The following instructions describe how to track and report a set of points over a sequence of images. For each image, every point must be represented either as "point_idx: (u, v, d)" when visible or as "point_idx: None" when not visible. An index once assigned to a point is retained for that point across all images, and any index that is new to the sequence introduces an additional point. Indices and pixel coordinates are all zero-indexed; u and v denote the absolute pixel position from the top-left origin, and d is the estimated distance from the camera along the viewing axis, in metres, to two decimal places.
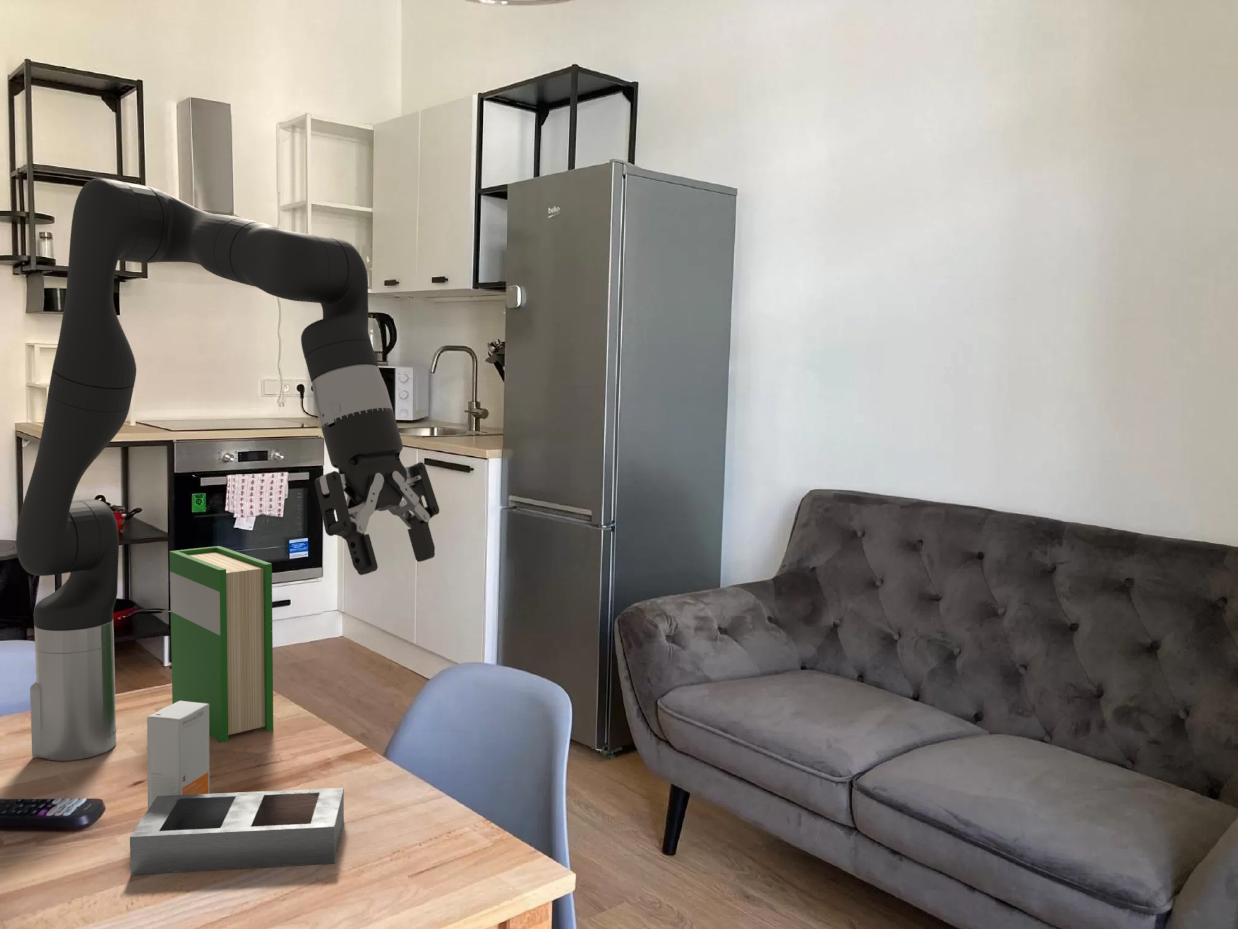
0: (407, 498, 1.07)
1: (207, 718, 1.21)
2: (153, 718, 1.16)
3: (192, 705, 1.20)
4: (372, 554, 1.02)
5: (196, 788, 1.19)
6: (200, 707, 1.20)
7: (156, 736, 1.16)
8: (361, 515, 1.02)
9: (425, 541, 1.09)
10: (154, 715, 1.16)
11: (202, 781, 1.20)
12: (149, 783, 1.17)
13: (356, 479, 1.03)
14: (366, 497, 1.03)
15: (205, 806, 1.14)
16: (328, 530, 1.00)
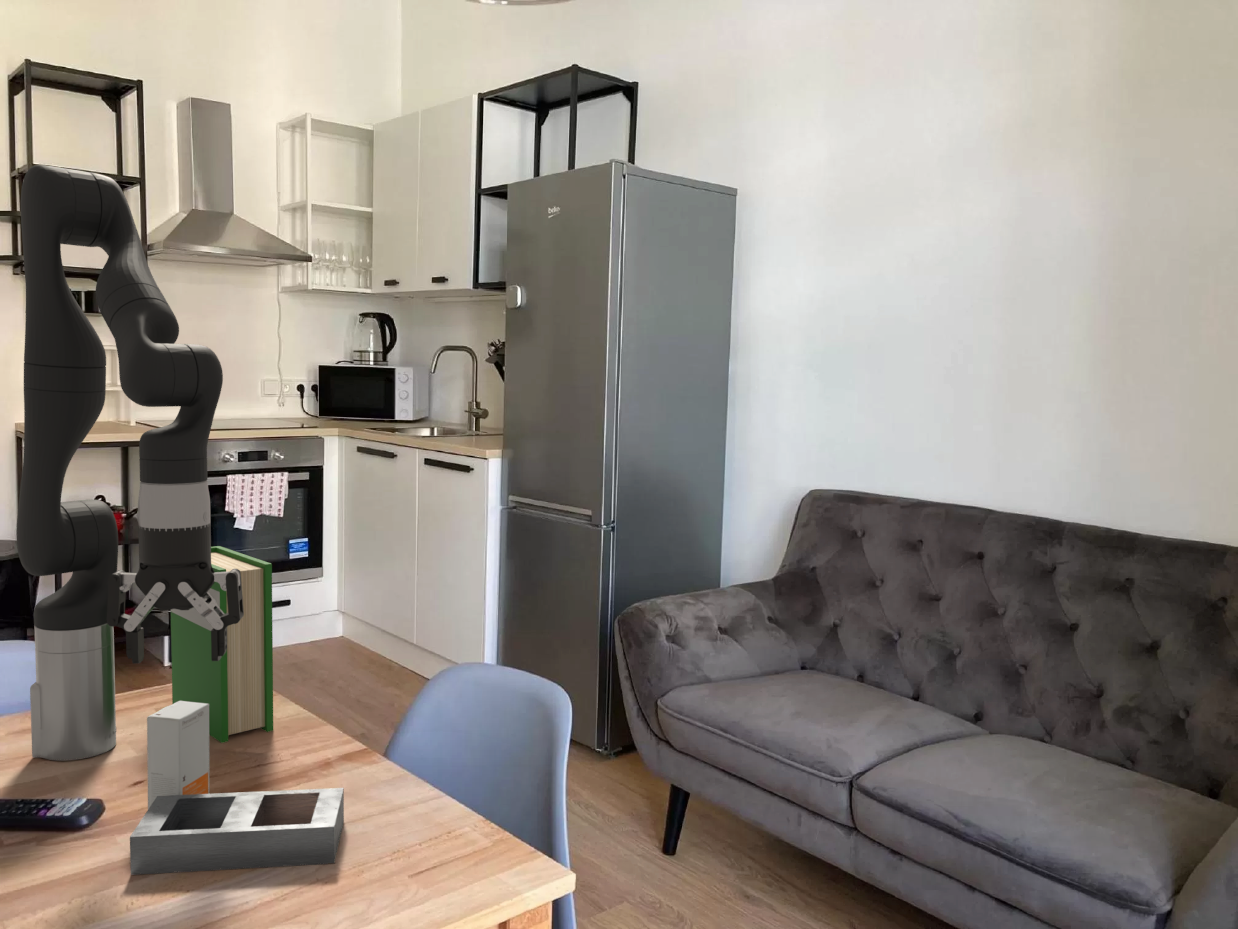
0: (194, 607, 1.16)
1: (207, 718, 1.21)
2: (153, 718, 1.16)
3: (192, 705, 1.20)
4: (135, 650, 1.16)
5: (196, 788, 1.19)
6: (200, 707, 1.20)
7: (156, 736, 1.16)
8: (133, 615, 1.16)
9: None
10: (154, 715, 1.16)
11: (202, 781, 1.20)
12: (149, 783, 1.17)
13: (140, 583, 1.15)
14: None
15: (205, 806, 1.14)
16: None
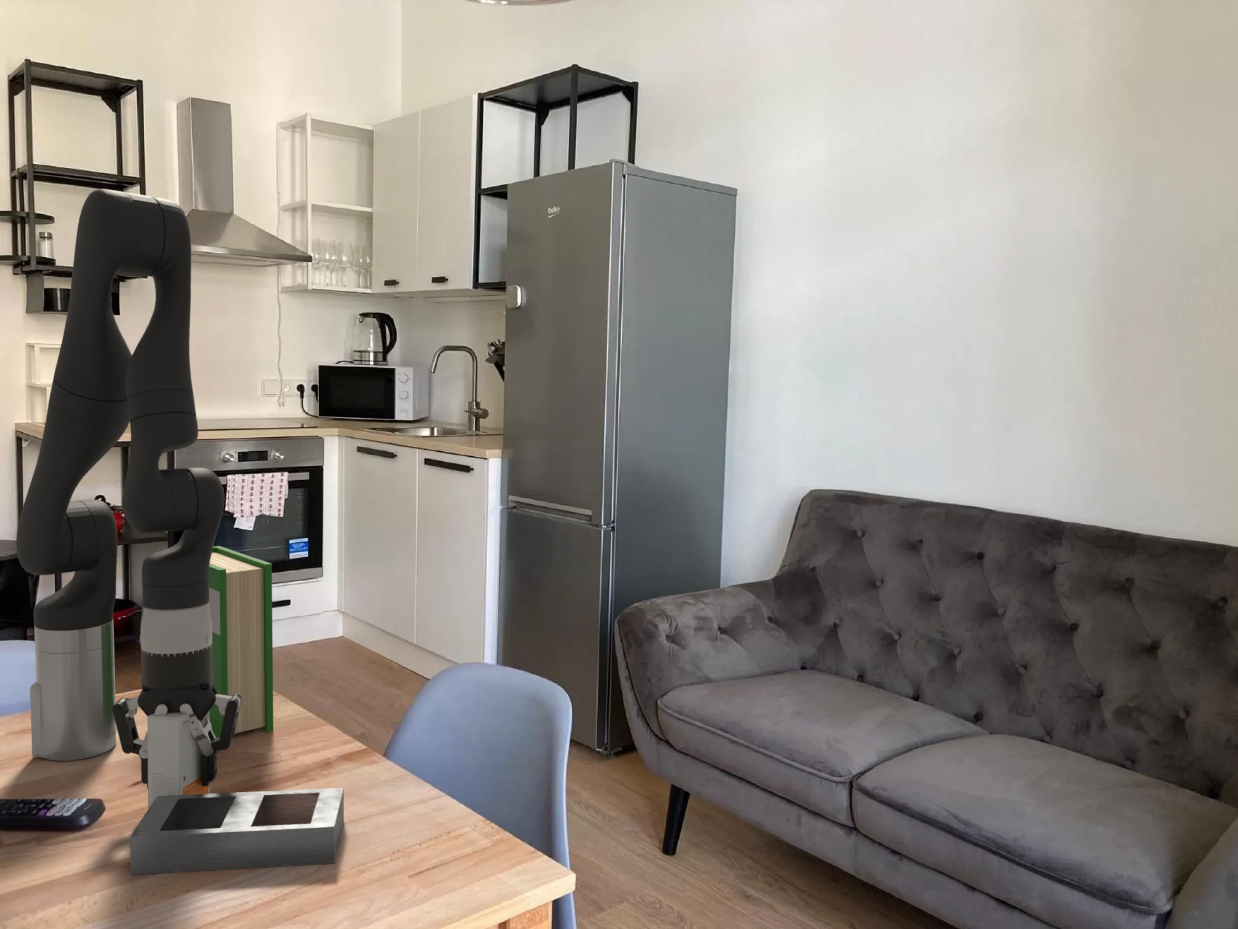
0: (190, 729, 1.17)
1: None
2: (154, 718, 1.16)
3: None
4: None
5: (197, 787, 1.19)
6: None
7: (156, 736, 1.16)
8: (145, 742, 1.17)
9: None
10: None
11: None
12: (149, 783, 1.17)
13: (143, 705, 1.17)
14: None
15: (205, 806, 1.14)
16: None
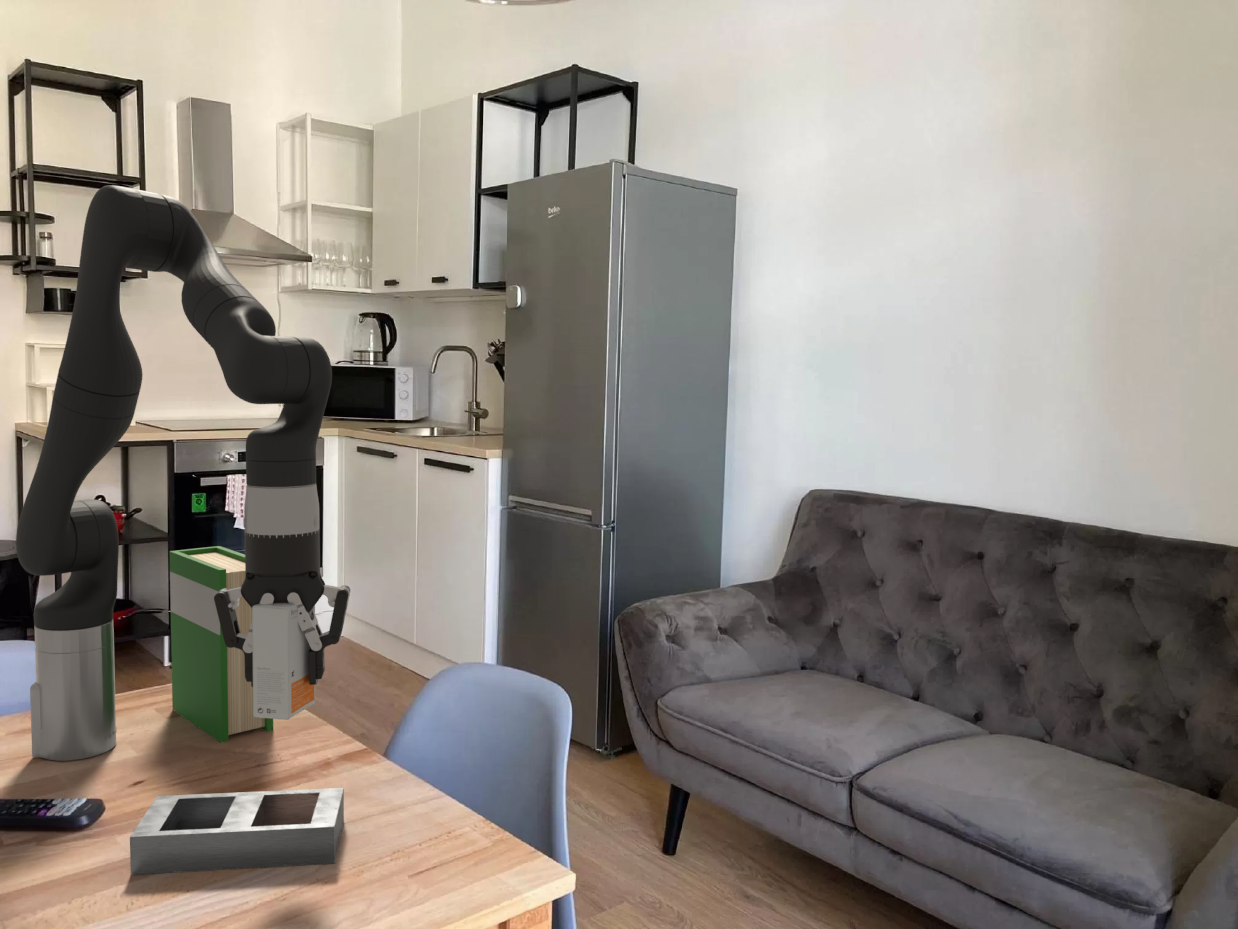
0: (298, 621, 1.08)
1: None
2: (259, 608, 1.06)
3: None
4: None
5: (304, 686, 1.10)
6: None
7: (262, 627, 1.06)
8: (249, 635, 1.08)
9: None
10: None
11: None
12: (255, 679, 1.07)
13: (247, 595, 1.07)
14: None
15: (205, 806, 1.14)
16: None
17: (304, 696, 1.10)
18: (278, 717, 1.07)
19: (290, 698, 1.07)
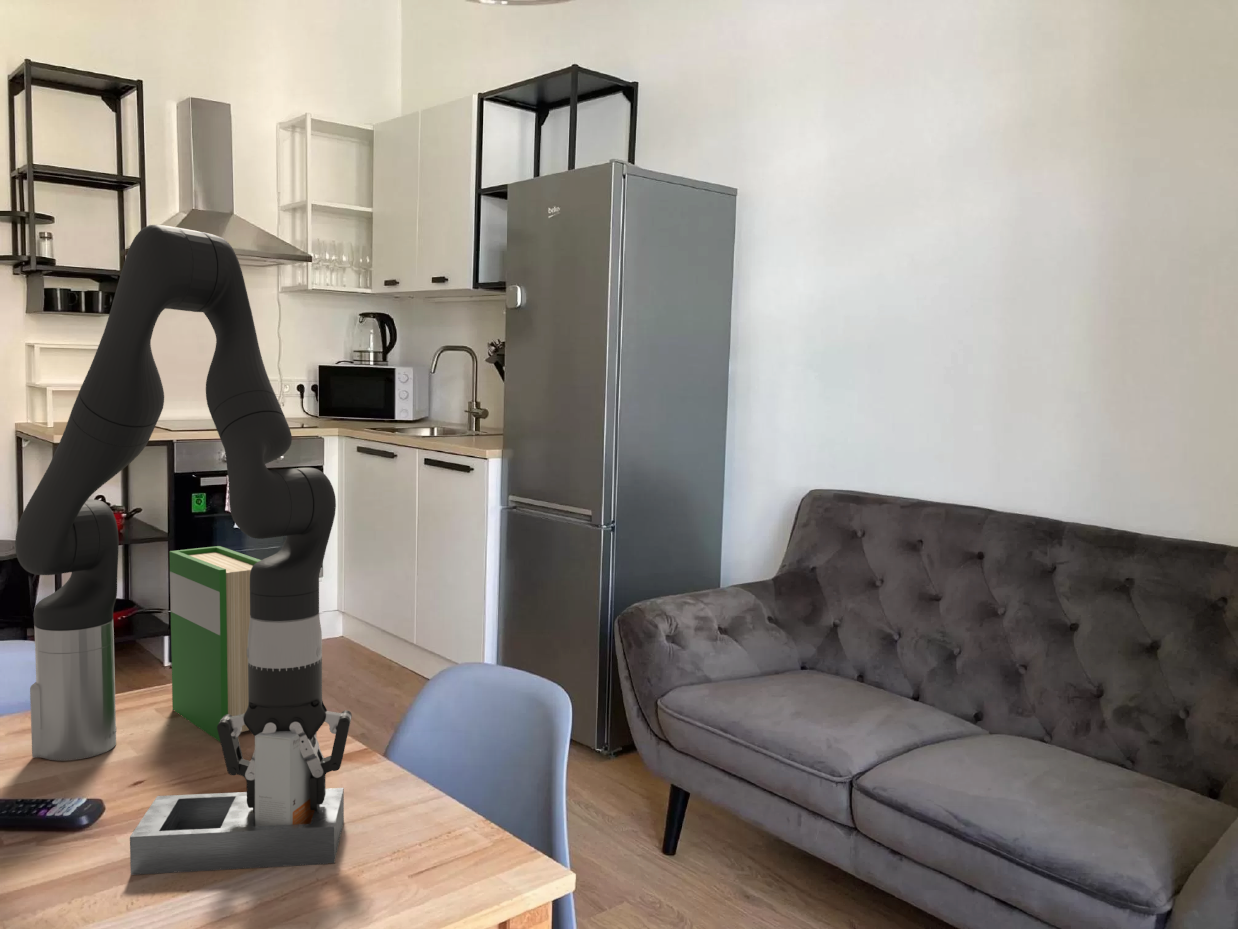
0: (300, 749, 1.09)
1: None
2: (262, 737, 1.08)
3: None
4: None
5: (305, 811, 1.11)
6: None
7: (265, 757, 1.08)
8: (252, 763, 1.09)
9: None
10: None
11: None
12: (256, 807, 1.08)
13: (250, 723, 1.09)
14: None
15: (205, 806, 1.14)
16: None
17: (305, 820, 1.11)
18: None
19: None
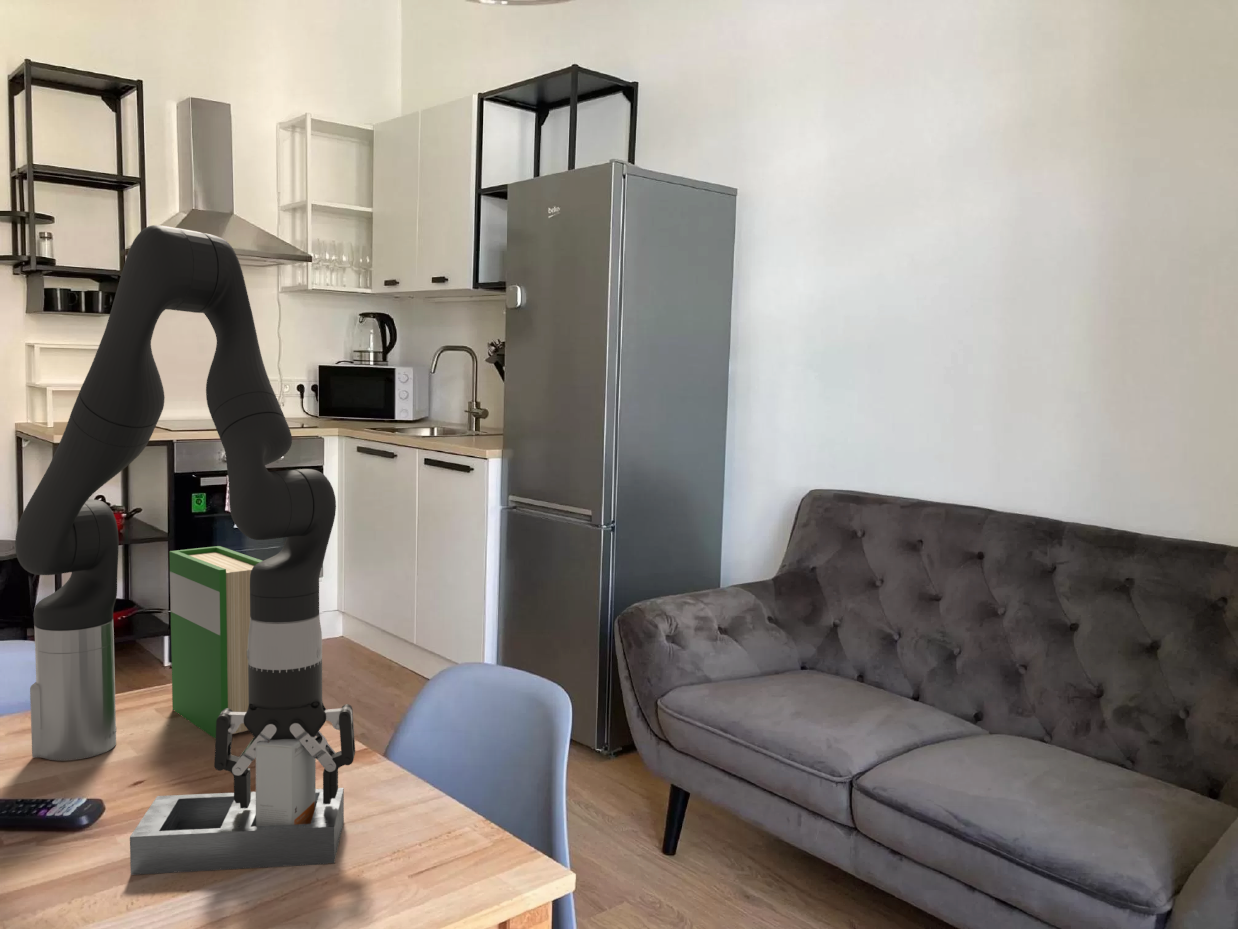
0: None
1: None
2: (263, 746, 1.08)
3: None
4: (244, 795, 1.09)
5: (305, 819, 1.11)
6: None
7: (266, 765, 1.08)
8: (242, 759, 1.09)
9: None
10: (263, 742, 1.08)
11: (310, 811, 1.12)
12: (257, 816, 1.08)
13: (249, 724, 1.09)
14: (251, 744, 1.08)
15: (205, 806, 1.14)
16: None
17: None
18: None
19: None
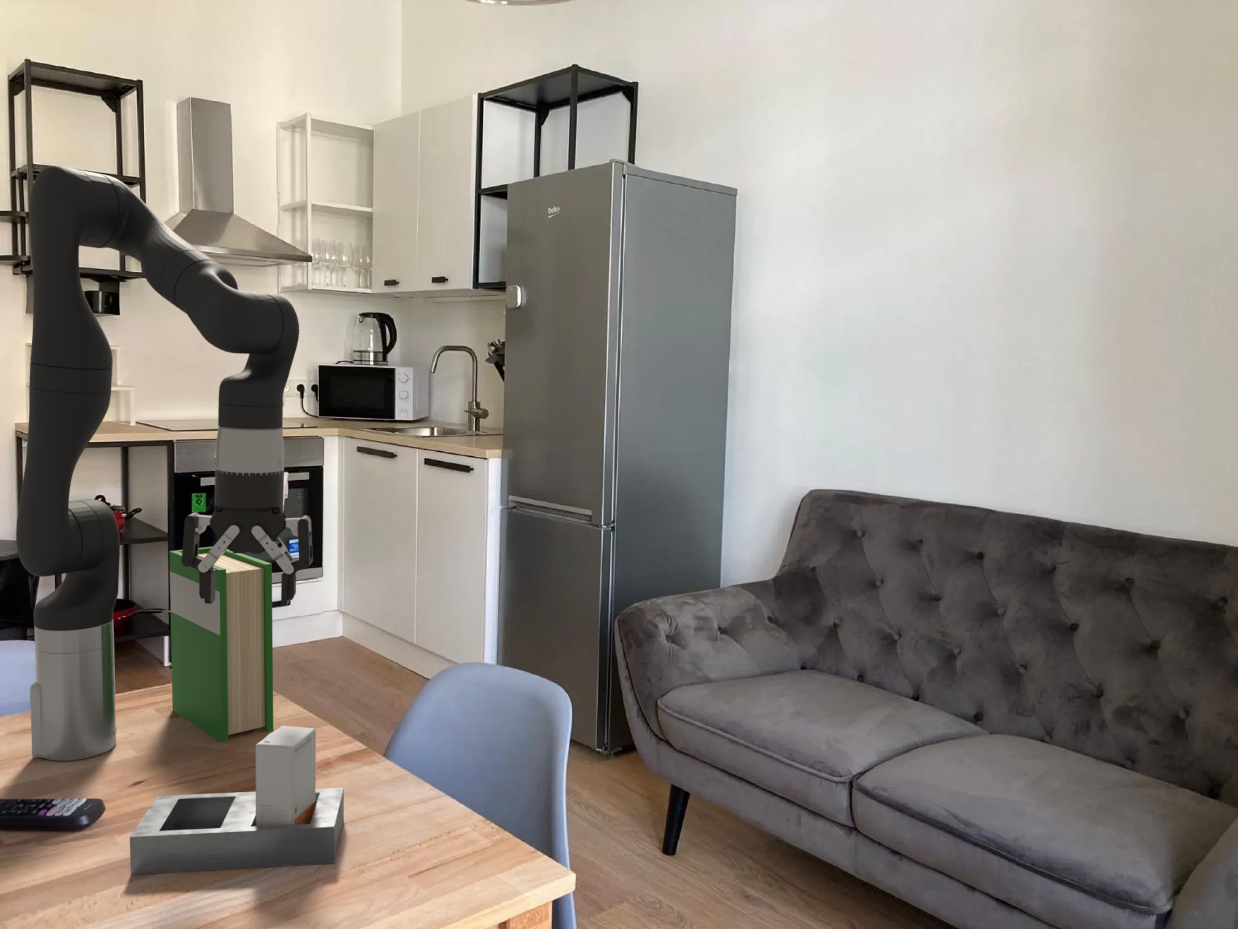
0: None
1: (314, 744, 1.13)
2: (263, 746, 1.08)
3: (299, 731, 1.12)
4: (208, 591, 1.19)
5: (305, 819, 1.11)
6: (308, 732, 1.12)
7: (266, 765, 1.08)
8: (207, 557, 1.18)
9: None
10: (263, 742, 1.08)
11: (310, 811, 1.12)
12: (257, 816, 1.08)
13: (215, 525, 1.18)
14: None
15: (205, 806, 1.14)
16: None
17: None
18: None
19: None
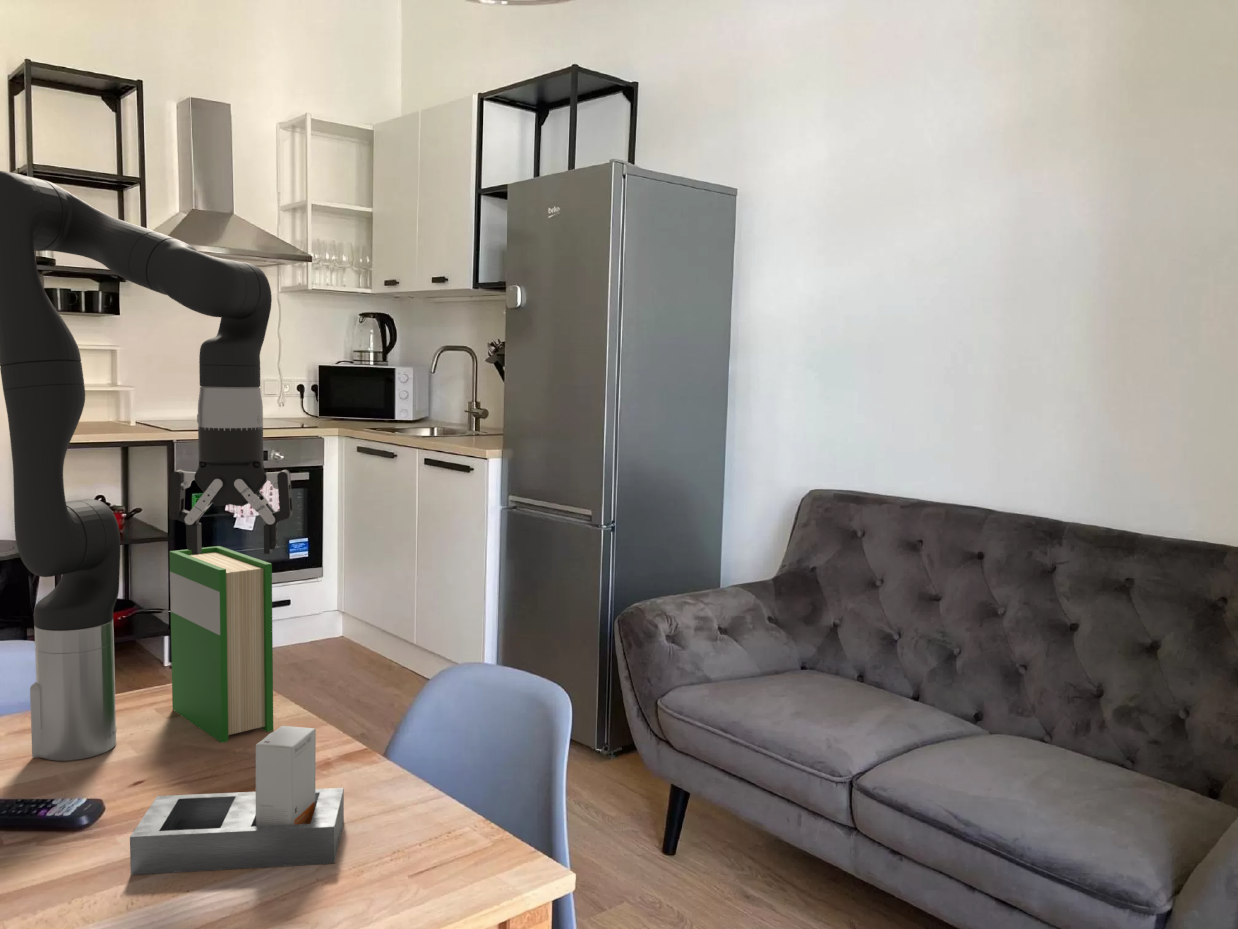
0: (249, 502, 1.27)
1: (314, 744, 1.13)
2: (263, 746, 1.08)
3: (299, 731, 1.12)
4: (195, 542, 1.26)
5: (305, 819, 1.11)
6: (308, 732, 1.12)
7: (266, 765, 1.08)
8: (193, 510, 1.26)
9: (264, 539, 1.28)
10: (263, 742, 1.08)
11: (310, 811, 1.12)
12: (257, 816, 1.08)
13: (199, 480, 1.26)
14: (200, 497, 1.26)
15: (205, 806, 1.14)
16: None
17: None
18: None
19: None
